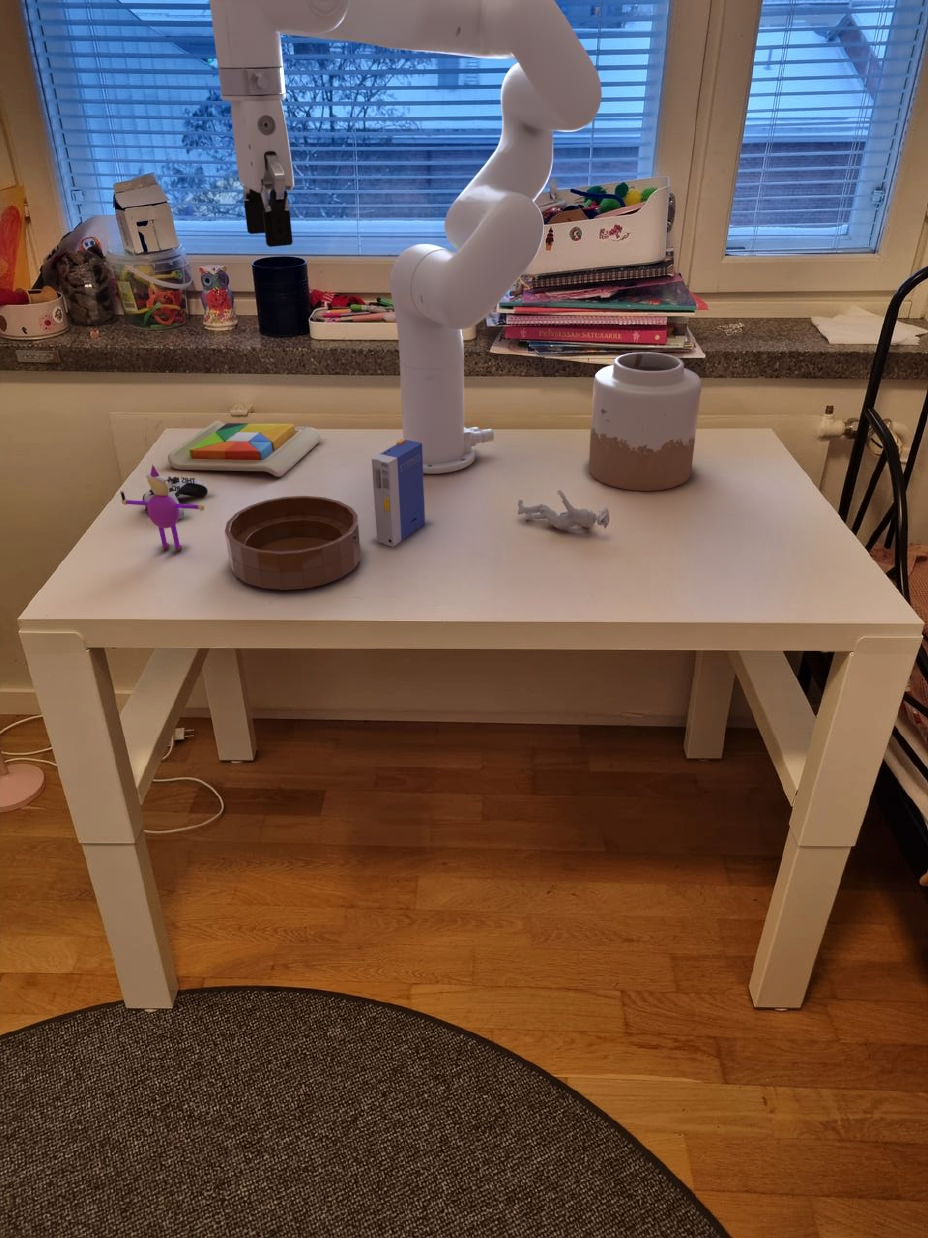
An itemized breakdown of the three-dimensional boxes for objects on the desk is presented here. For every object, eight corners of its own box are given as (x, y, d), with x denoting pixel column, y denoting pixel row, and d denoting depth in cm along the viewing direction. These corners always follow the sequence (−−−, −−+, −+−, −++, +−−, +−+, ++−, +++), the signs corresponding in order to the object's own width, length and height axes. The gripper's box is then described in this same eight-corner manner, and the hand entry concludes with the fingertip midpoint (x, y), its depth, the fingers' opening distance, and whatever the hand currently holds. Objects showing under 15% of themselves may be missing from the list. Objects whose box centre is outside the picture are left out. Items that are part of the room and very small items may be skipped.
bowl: (338, 524, 131) (334, 487, 129) (378, 576, 119) (376, 536, 116) (219, 548, 126) (212, 509, 123) (248, 605, 113) (242, 564, 110)
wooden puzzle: (220, 430, 163) (217, 409, 161) (323, 440, 159) (321, 419, 157) (166, 469, 149) (162, 447, 147) (278, 481, 144) (275, 459, 143)
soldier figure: (535, 516, 135) (617, 502, 130) (535, 548, 134) (618, 535, 129) (512, 494, 129) (598, 478, 123) (512, 528, 127) (598, 513, 122)
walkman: (408, 519, 132) (404, 436, 126) (425, 524, 131) (422, 440, 125) (375, 542, 127) (369, 456, 120) (392, 547, 125) (387, 460, 119)
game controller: (183, 516, 132) (149, 485, 131) (162, 538, 135) (128, 508, 133) (212, 487, 140) (180, 458, 139) (192, 509, 143) (161, 481, 141)
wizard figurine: (216, 549, 126) (202, 462, 119) (206, 560, 123) (191, 472, 117) (136, 542, 128) (118, 456, 121) (124, 553, 125) (105, 466, 119)
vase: (672, 499, 137) (685, 384, 128) (572, 480, 143) (578, 368, 135) (703, 462, 149) (716, 354, 140) (609, 446, 155) (617, 341, 146)
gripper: (304, 87, 108) (317, 247, 117) (265, 81, 122) (280, 226, 131) (237, 89, 106) (257, 253, 115) (206, 83, 119) (225, 230, 128)
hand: (269, 238), depth 123 cm, fingers open, 9 cm apart
